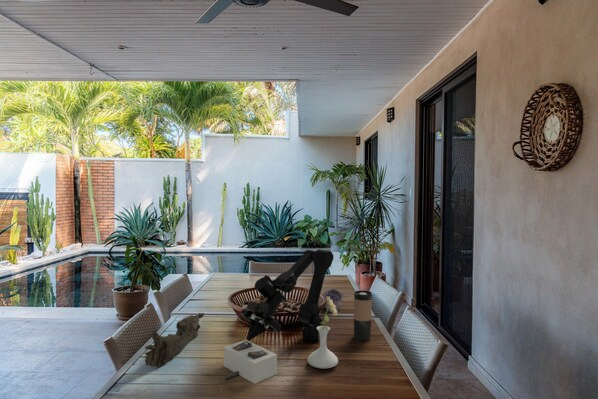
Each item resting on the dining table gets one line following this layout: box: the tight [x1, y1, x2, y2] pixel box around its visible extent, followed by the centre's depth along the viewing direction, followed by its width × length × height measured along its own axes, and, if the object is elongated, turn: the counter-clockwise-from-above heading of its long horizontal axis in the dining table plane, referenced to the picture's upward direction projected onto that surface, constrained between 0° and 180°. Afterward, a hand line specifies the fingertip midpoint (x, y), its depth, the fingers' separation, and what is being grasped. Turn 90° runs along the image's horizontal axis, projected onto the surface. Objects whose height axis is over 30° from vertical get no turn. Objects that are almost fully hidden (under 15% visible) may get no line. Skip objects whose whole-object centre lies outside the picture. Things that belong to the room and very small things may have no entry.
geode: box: [322, 288, 344, 314], centre depth 218 cm, size 20×12×10 cm, turn 177°
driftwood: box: [144, 312, 205, 369], centre depth 159 cm, size 4×52×14 cm, turn 174°
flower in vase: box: [307, 296, 339, 370], centre depth 147 cm, size 13×11×25 cm
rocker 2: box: [248, 351, 268, 358], centre depth 138 cm, size 6×4×1 cm, turn 135°
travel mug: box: [353, 290, 373, 342], centre depth 174 cm, size 8×8×20 cm
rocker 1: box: [233, 340, 253, 351], centre depth 145 cm, size 6×4×1 cm, turn 134°
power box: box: [223, 339, 278, 384], centre depth 140 cm, size 15×18×7 cm
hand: (247, 339), depth 146 cm, fingers closed
